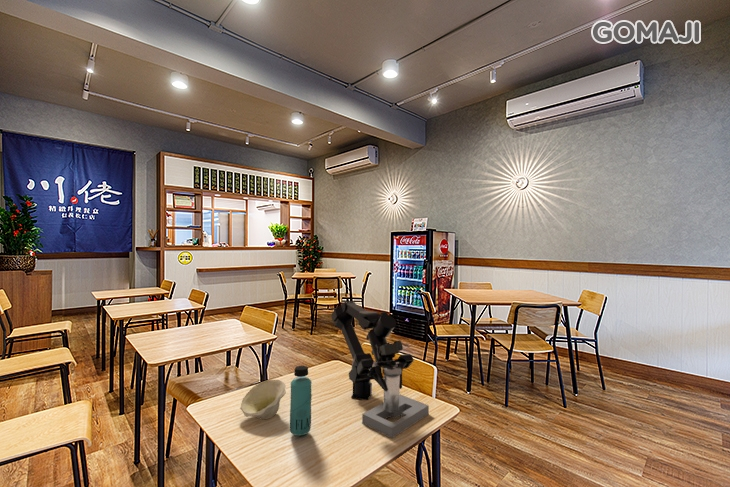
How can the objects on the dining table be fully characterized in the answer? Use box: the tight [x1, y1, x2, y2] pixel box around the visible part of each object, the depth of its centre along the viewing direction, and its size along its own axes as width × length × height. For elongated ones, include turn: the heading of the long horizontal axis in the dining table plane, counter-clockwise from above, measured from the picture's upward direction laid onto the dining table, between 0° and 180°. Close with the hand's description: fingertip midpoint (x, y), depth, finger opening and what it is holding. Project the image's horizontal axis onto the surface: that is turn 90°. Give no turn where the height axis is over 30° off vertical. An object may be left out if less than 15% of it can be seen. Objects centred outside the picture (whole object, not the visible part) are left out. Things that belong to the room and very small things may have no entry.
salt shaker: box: [382, 364, 401, 413], centre depth 105 cm, size 6×6×13 cm
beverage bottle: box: [289, 365, 313, 436], centre depth 99 cm, size 6×7×20 cm
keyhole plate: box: [361, 393, 430, 439], centre depth 109 cm, size 20×12×3 cm, turn 137°
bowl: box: [239, 379, 287, 420], centre depth 109 cm, size 15×14×10 cm
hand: (393, 389), depth 104 cm, fingers closed on salt shaker, 5 cm apart
